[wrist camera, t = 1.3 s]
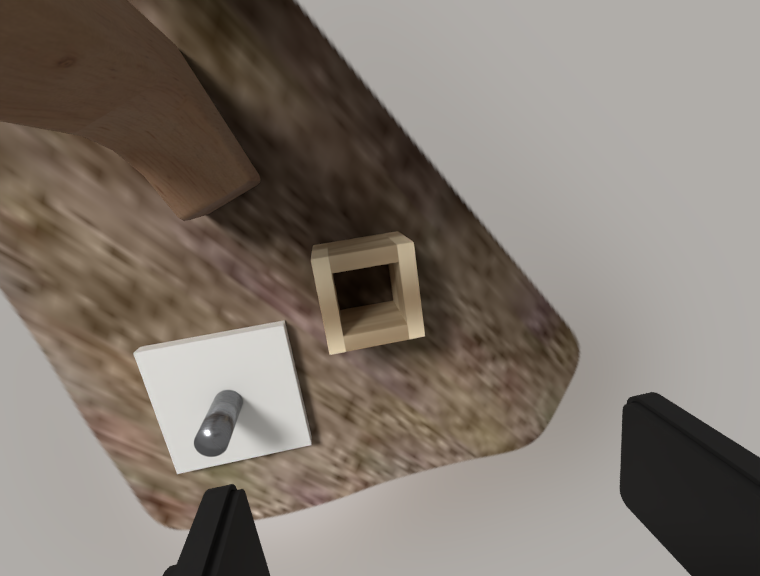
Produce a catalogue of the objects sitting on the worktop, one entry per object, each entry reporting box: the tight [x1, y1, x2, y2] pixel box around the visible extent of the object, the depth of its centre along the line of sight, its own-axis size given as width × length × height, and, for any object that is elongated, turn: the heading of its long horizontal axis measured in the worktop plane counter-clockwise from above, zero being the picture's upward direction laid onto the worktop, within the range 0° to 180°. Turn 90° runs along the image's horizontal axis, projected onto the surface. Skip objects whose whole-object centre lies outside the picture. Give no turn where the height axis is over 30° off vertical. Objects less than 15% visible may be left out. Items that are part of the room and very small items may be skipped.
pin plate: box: [134, 320, 312, 474], centre depth 26 cm, size 10×10×6 cm
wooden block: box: [0, 0, 261, 221], centre depth 15 cm, size 9×4×18 cm, turn 30°
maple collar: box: [311, 231, 425, 355], centre depth 25 cm, size 6×6×5 cm
